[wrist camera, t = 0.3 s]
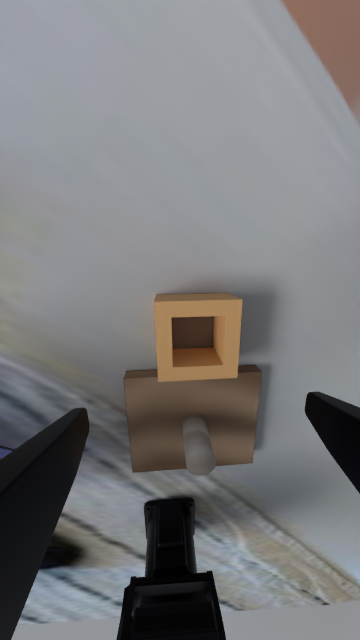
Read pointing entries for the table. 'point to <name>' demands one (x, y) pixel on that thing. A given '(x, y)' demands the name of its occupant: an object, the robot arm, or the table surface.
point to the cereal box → (5, 451)
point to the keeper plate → (178, 404)
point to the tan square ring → (198, 360)
